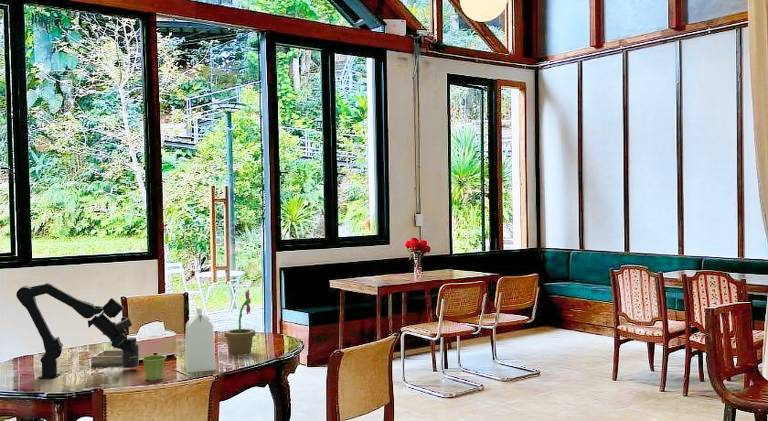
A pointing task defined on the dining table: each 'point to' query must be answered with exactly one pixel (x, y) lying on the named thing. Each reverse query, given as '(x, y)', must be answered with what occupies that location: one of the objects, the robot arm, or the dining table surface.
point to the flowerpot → (240, 334)
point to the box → (107, 358)
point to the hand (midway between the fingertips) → (133, 350)
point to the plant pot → (154, 366)
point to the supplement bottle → (131, 355)
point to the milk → (199, 343)
